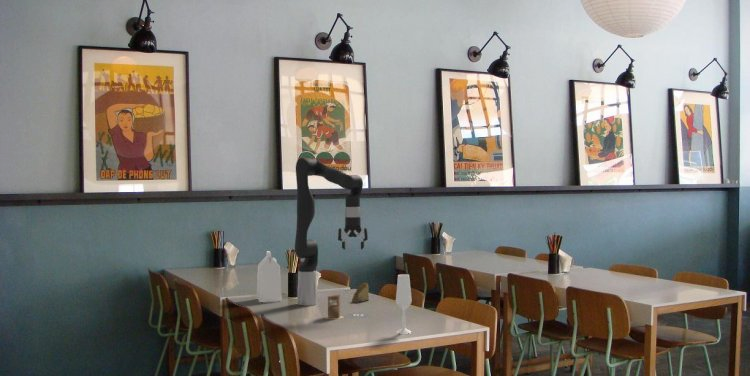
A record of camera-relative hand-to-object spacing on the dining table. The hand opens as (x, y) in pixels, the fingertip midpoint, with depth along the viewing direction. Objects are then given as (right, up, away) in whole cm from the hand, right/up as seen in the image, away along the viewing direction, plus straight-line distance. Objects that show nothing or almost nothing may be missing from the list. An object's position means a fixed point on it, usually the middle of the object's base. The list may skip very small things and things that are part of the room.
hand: (353, 249), depth 354 cm
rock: (+3, -30, +30) cm, 43 cm away
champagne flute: (+23, -31, -49) cm, 62 cm away
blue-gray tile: (+3, -30, -12) cm, 33 cm away
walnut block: (-8, -30, -17) cm, 35 cm away
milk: (-46, -30, +35) cm, 65 cm away
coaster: (-8, -30, -17) cm, 36 cm away
